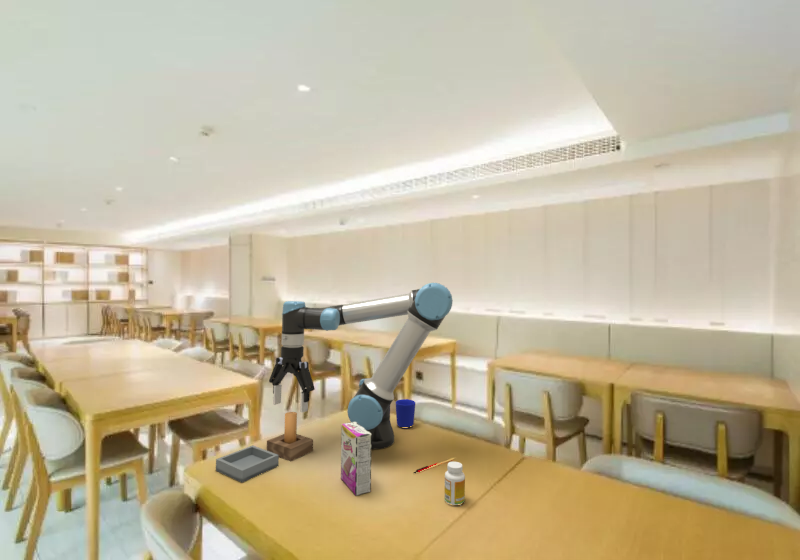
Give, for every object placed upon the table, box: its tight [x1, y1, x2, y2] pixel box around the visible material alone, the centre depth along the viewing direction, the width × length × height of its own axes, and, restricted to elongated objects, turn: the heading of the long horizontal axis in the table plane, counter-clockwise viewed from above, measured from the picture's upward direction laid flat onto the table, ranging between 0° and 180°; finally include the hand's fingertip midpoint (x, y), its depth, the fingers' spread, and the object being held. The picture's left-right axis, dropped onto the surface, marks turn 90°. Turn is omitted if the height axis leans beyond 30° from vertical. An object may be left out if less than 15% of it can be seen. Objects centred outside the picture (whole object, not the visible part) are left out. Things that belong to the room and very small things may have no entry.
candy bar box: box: [340, 421, 372, 497], centre depth 111 cm, size 11×5×16 cm, turn 31°
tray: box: [215, 444, 280, 484], centre depth 120 cm, size 13×13×4 cm
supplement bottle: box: [443, 461, 466, 505], centre depth 104 cm, size 5×5×10 cm
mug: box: [395, 398, 416, 428], centre depth 162 cm, size 8×12×10 cm
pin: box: [284, 411, 298, 444], centre depth 133 cm, size 4×4×13 cm
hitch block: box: [266, 433, 314, 462], centre depth 133 cm, size 12×10×4 cm
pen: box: [413, 462, 438, 474], centre depth 125 cm, size 1×19×1 cm, turn 128°
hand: (290, 407), depth 134 cm, fingers open, 13 cm apart
